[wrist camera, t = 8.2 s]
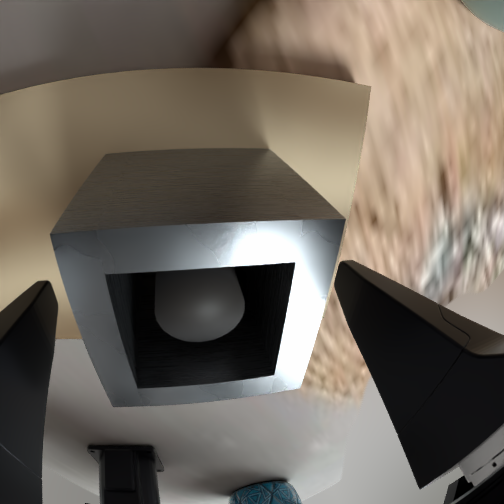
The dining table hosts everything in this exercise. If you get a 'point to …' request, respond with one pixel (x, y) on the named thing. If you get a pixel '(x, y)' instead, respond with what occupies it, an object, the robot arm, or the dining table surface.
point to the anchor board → (164, 138)
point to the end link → (197, 257)
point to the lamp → (266, 494)
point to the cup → (488, 12)
